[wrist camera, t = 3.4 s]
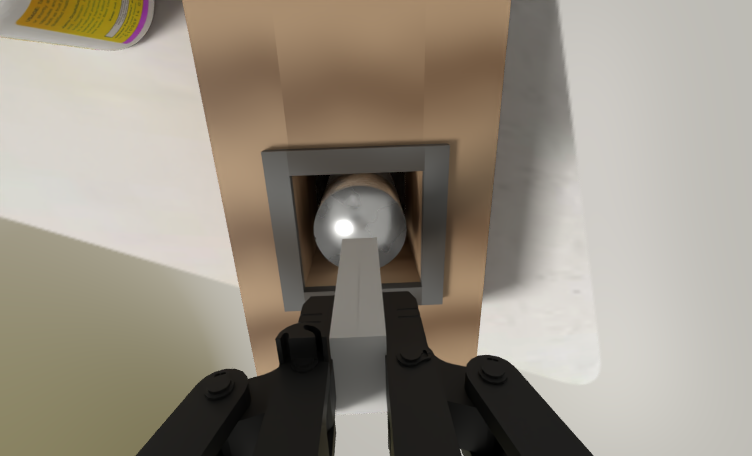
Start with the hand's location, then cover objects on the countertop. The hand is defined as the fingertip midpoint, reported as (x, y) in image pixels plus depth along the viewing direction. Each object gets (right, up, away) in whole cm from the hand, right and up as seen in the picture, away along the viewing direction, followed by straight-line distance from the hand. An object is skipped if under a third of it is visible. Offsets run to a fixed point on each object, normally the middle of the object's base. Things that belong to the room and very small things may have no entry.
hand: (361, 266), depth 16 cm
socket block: (-1, +5, +11) cm, 12 cm away
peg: (-1, +5, +11) cm, 12 cm away
